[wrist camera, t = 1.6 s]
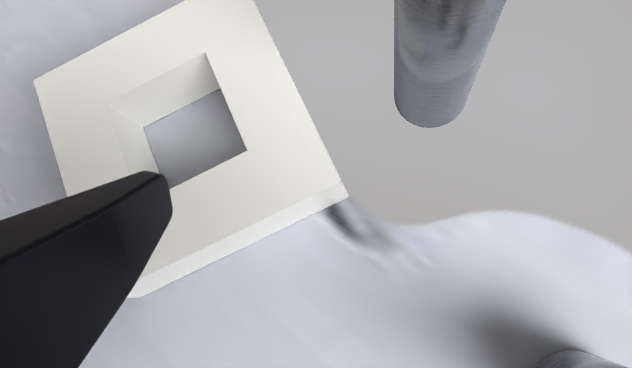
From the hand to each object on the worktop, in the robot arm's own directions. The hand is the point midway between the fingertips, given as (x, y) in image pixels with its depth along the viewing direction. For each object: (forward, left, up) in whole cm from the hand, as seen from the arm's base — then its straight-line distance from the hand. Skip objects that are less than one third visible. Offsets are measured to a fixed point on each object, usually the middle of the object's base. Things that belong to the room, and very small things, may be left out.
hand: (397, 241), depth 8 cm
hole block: (+10, +6, -14) cm, 18 cm away
